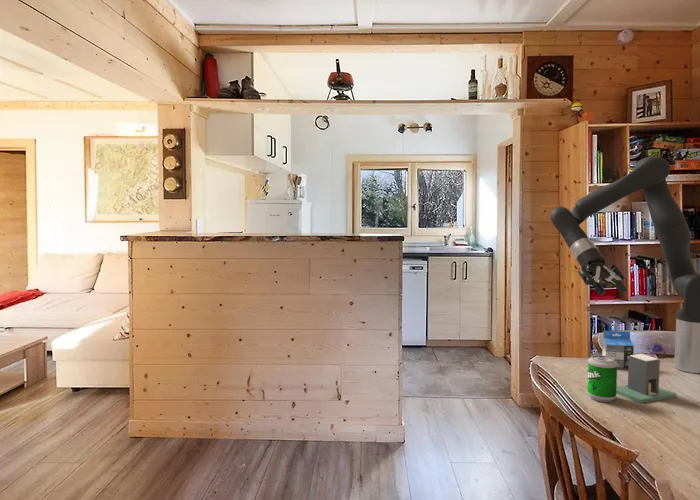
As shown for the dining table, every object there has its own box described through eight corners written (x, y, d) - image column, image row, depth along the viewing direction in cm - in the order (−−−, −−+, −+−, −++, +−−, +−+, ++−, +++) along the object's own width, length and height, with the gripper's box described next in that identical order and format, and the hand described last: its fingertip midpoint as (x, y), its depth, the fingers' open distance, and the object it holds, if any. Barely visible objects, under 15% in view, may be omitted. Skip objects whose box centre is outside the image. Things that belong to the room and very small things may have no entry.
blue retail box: (605, 367, 165) (606, 333, 164) (601, 364, 169) (602, 330, 168) (633, 369, 163) (634, 334, 162) (629, 365, 167) (630, 331, 166)
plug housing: (640, 386, 145) (641, 353, 144) (658, 393, 139) (659, 359, 138) (627, 388, 143) (628, 355, 143) (645, 395, 138) (646, 361, 137)
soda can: (613, 394, 141) (614, 355, 140) (618, 404, 134) (619, 363, 133) (585, 392, 143) (586, 353, 142) (589, 401, 136) (590, 360, 135)
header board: (646, 385, 148) (646, 372, 148) (676, 396, 139) (677, 383, 138) (610, 390, 144) (611, 377, 144) (639, 403, 135) (640, 389, 134)
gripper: (575, 247, 155) (602, 287, 145) (610, 246, 160) (638, 284, 150) (563, 262, 161) (589, 301, 151) (597, 260, 165) (624, 298, 155)
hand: (613, 293), depth 150 cm, fingers open, 8 cm apart
